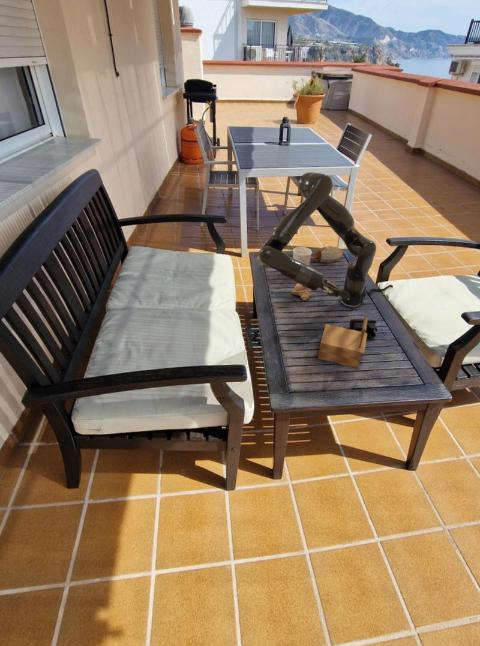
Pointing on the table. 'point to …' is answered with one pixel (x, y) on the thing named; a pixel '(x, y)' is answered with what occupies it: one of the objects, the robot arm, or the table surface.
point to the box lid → (345, 338)
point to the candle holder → (302, 254)
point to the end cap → (358, 325)
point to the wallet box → (339, 356)
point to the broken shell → (301, 291)
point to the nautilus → (327, 254)
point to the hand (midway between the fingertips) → (348, 296)
